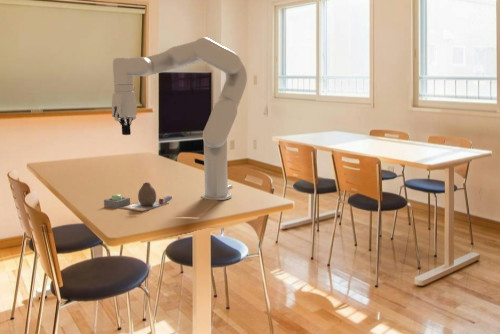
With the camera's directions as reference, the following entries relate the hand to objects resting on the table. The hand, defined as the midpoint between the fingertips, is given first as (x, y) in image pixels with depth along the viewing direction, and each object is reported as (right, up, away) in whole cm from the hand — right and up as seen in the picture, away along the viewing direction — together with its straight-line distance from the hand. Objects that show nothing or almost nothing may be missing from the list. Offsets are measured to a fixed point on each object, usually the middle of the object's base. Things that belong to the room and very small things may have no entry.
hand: (126, 134), depth 204 cm
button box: (-2, -29, -7) cm, 30 cm away
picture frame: (+9, -29, -9) cm, 32 cm away
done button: (-2, -28, -7) cm, 29 cm away
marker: (+16, -27, -2) cm, 32 cm away
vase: (+11, -28, -9) cm, 32 cm away
